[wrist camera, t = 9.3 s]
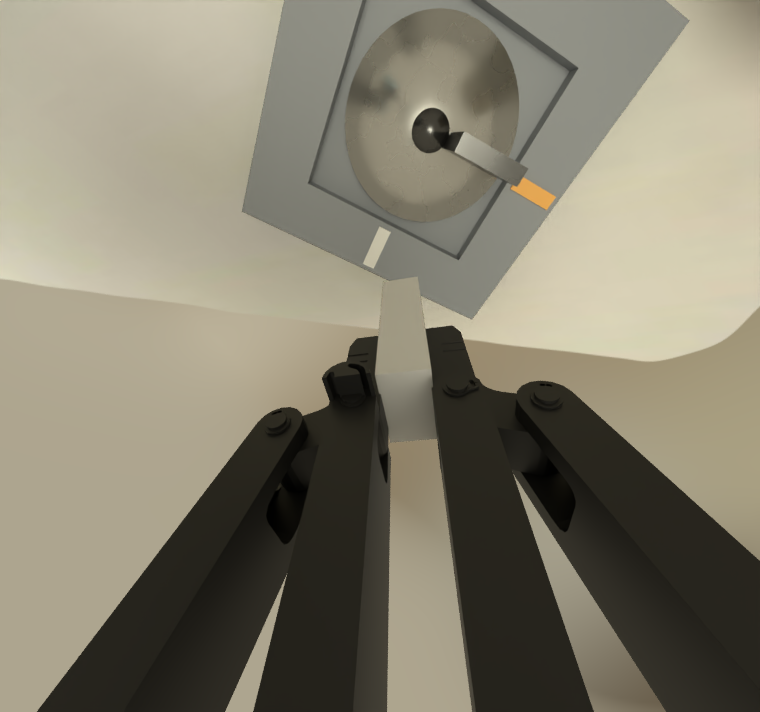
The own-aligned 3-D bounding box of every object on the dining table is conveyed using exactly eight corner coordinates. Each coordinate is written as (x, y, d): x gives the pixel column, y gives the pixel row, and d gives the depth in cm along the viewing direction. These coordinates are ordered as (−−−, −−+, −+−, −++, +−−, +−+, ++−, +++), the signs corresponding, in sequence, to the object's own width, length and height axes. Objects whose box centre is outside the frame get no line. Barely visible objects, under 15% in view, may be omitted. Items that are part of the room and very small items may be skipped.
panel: (253, 205, 33) (241, 211, 30) (346, -222, 19) (338, -279, 16) (467, 307, 38) (472, 320, 36) (660, 32, 24) (691, 19, 22)
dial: (455, 242, 32) (471, 271, 26) (325, 178, 30) (303, 190, 23) (551, 76, 25) (610, 53, 18) (389, -32, 22) (385, -107, 15)
